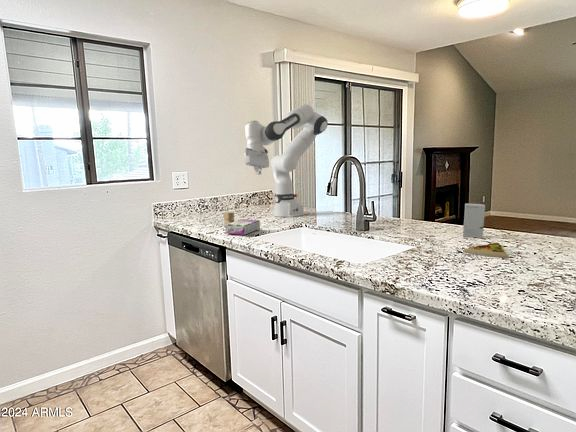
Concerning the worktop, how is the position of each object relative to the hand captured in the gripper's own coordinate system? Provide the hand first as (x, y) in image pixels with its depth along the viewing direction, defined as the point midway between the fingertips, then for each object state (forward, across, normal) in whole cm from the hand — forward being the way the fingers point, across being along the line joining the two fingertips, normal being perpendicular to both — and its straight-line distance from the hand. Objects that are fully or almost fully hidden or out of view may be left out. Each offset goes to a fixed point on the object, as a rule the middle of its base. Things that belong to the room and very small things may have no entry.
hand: (258, 174), depth 214 cm
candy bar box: (+27, -9, +3) cm, 29 cm away
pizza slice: (+54, -13, -107) cm, 121 cm away
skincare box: (+49, +11, -100) cm, 112 cm away
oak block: (+26, -7, +20) cm, 34 cm away
